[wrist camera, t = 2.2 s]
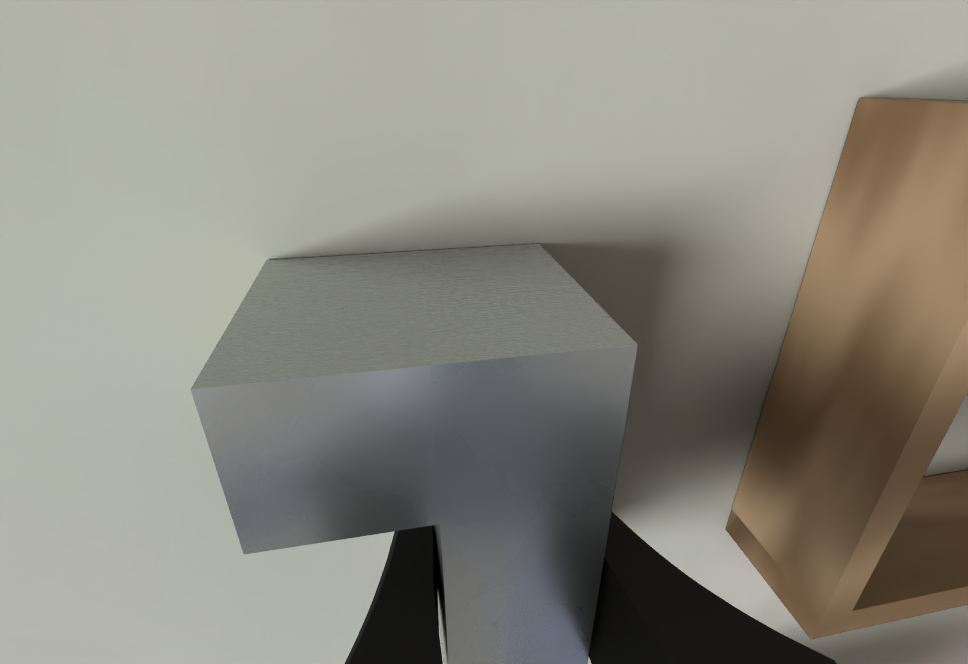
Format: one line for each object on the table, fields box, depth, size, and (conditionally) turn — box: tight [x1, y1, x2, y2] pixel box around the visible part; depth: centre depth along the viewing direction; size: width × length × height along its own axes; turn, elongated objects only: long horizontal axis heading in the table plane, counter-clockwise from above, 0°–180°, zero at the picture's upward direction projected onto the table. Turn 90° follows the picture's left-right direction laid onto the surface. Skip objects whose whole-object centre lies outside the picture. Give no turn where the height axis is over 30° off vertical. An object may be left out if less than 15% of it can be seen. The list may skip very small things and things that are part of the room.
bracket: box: [191, 244, 638, 664], centre depth 11 cm, size 10×6×5 cm, turn 0°
